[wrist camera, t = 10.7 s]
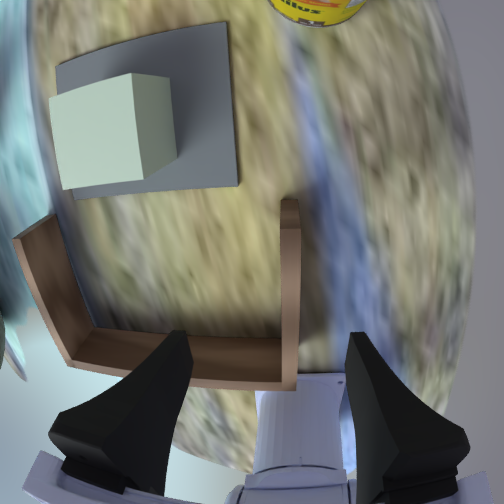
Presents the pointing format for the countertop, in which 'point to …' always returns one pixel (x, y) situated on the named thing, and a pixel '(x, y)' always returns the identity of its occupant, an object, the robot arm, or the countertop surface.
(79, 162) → the sage block
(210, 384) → the walnut open-sided frame
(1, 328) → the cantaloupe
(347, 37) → the countertop surface
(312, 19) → the supplement bottle
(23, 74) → the countertop surface
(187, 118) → the slate mat
